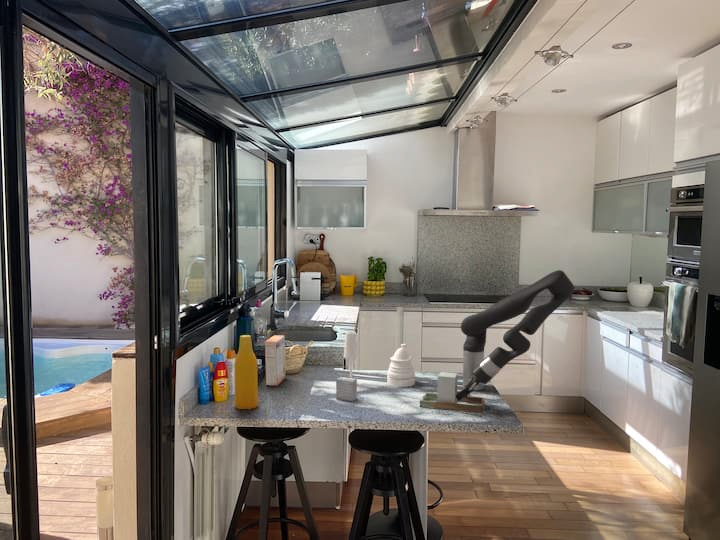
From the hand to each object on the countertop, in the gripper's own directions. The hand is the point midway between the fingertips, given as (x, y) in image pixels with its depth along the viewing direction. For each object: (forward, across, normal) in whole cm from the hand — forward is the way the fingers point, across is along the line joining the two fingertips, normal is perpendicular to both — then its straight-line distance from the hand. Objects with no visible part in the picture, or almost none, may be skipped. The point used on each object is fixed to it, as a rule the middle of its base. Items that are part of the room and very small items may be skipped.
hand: (457, 398), depth 226 cm
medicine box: (+34, -4, +32) cm, 47 cm away
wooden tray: (+4, +3, -1) cm, 5 cm away
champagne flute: (+37, +18, +35) cm, 54 cm away
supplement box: (+5, 0, +1) cm, 5 cm away
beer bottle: (+57, -25, +59) cm, 86 cm away
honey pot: (+23, +26, +19) cm, 39 cm away
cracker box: (+61, +11, +61) cm, 87 cm away
